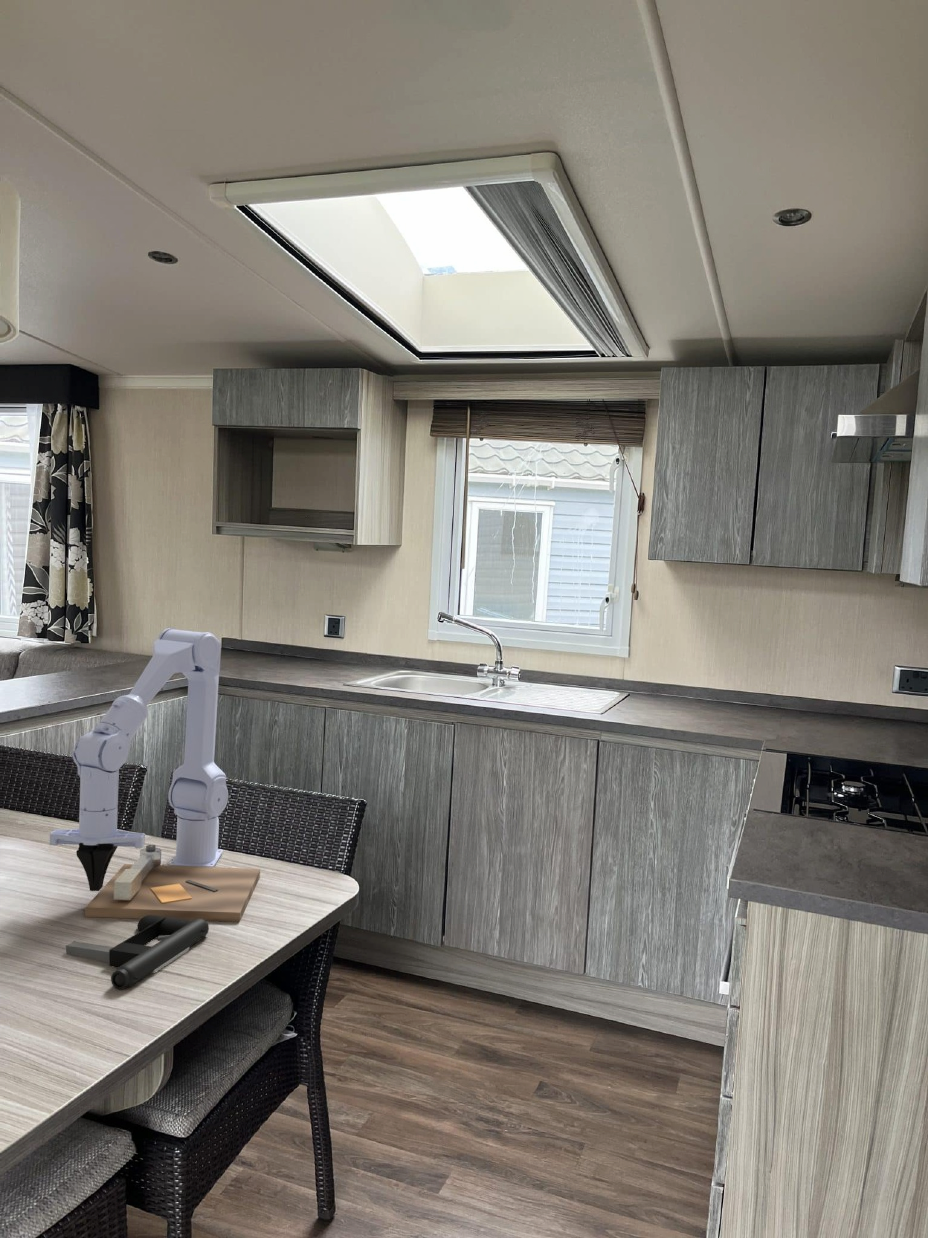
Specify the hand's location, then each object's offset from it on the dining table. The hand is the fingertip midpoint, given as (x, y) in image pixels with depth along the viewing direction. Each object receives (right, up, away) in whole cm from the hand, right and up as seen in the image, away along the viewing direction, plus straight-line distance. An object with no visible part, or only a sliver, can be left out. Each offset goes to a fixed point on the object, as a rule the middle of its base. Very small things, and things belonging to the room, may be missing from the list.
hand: (96, 889), depth 149 cm
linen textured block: (+5, 0, +6) cm, 8 cm away
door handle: (+12, -5, -16) cm, 20 cm away
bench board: (+11, -3, +6) cm, 13 cm away
